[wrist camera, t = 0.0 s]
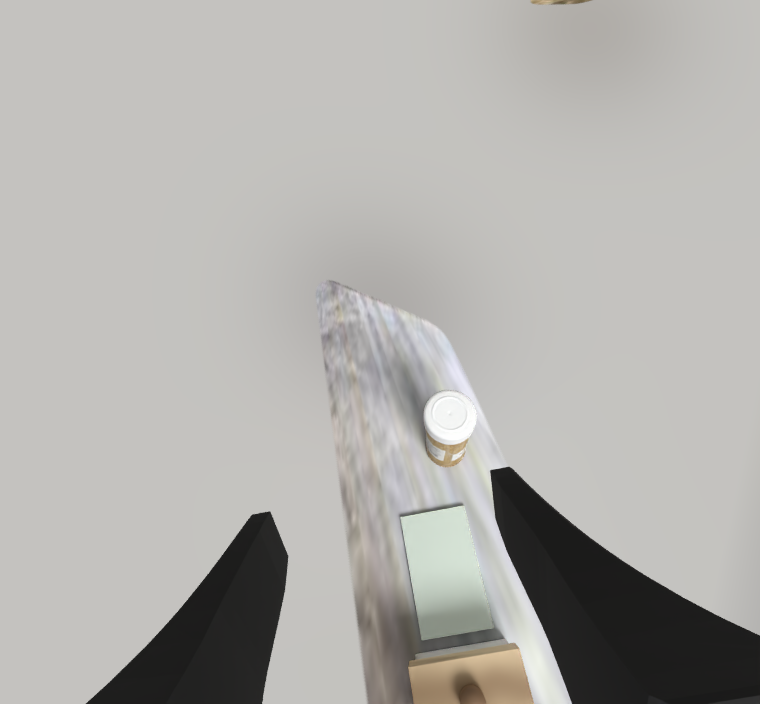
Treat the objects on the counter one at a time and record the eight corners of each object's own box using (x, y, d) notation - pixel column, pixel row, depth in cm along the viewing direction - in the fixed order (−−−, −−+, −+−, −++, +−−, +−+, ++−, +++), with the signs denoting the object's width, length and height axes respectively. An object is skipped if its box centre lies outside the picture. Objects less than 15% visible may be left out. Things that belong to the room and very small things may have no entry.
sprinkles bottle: (469, 463, 44) (484, 434, 32) (430, 471, 44) (429, 445, 32) (459, 424, 46) (468, 383, 34) (421, 432, 46) (418, 393, 34)
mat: (493, 627, 37) (494, 628, 36) (421, 639, 37) (421, 640, 37) (463, 505, 42) (464, 505, 41) (400, 517, 42) (400, 517, 42)
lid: (535, 723, 31) (546, 742, 28) (422, 742, 31) (421, 762, 29) (514, 642, 34) (522, 652, 31) (409, 660, 34) (407, 671, 31)
